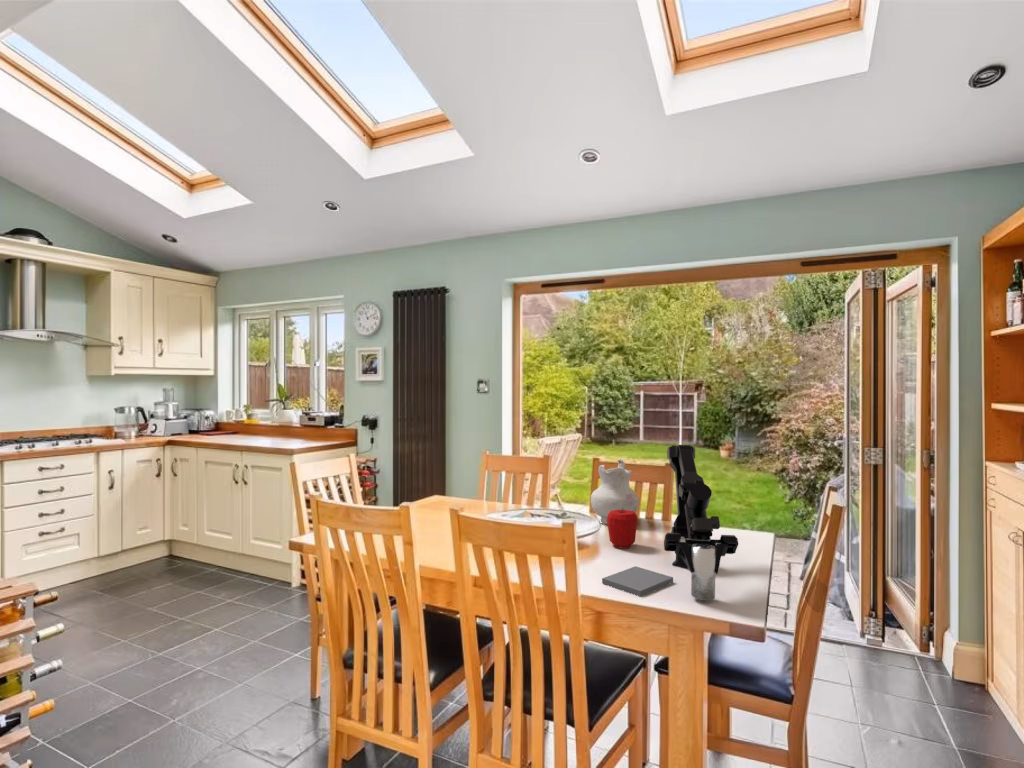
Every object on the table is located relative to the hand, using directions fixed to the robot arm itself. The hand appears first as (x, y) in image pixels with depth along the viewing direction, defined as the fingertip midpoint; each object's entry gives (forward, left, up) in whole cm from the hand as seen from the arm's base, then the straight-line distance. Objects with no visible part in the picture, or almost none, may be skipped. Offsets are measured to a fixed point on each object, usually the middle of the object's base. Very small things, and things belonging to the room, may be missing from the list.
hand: (704, 572), depth 148 cm
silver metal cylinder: (-1, -1, -7) cm, 7 cm away
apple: (-36, -36, -8) cm, 52 cm away
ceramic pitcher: (-68, -52, -8) cm, 86 cm away
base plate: (-4, -20, -8) cm, 21 cm away
